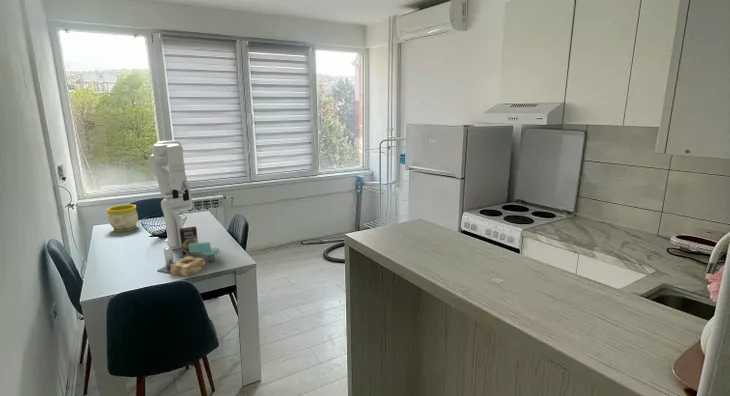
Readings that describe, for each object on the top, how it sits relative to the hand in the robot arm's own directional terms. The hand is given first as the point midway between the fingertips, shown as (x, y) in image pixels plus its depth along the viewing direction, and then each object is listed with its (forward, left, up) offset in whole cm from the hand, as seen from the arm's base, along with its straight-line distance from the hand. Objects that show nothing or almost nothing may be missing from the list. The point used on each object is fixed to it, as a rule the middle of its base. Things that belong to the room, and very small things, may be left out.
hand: (181, 199), depth 203 cm
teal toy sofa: (+9, +3, -36) cm, 37 cm away
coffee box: (-7, +8, -36) cm, 38 cm away
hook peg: (-1, -12, -36) cm, 37 cm away
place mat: (-1, -12, -36) cm, 38 cm away
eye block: (+9, -10, -36) cm, 39 cm away
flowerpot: (-91, +31, -36) cm, 103 cm away
